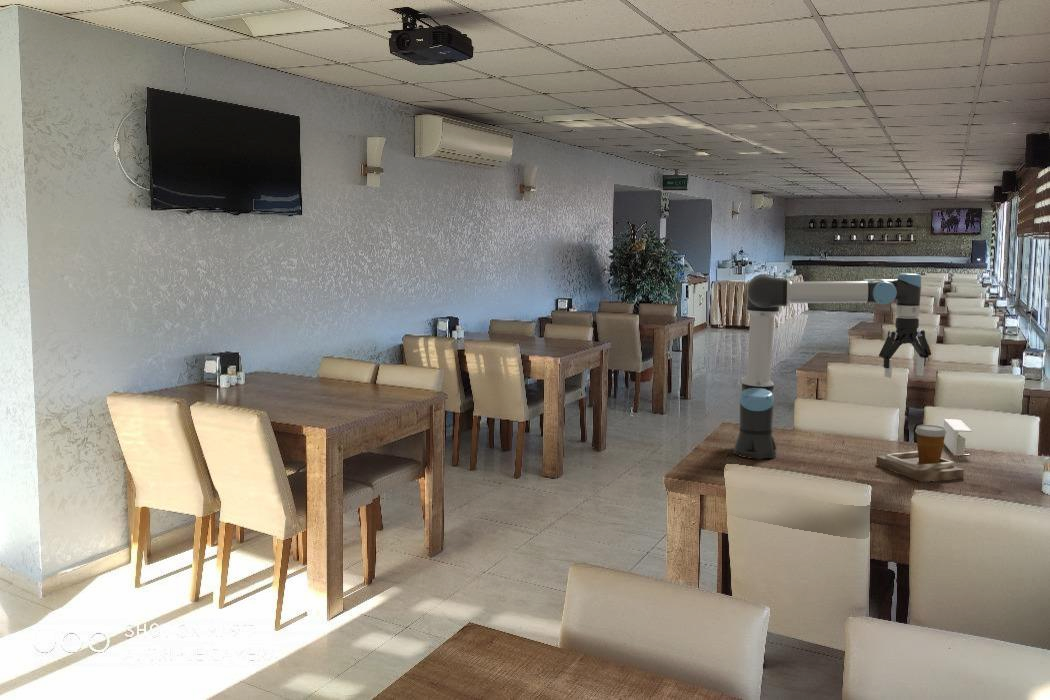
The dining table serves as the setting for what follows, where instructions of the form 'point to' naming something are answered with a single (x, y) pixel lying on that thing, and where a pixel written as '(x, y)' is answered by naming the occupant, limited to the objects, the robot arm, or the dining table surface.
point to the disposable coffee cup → (930, 443)
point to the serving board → (920, 467)
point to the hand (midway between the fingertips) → (903, 376)
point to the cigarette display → (955, 435)
